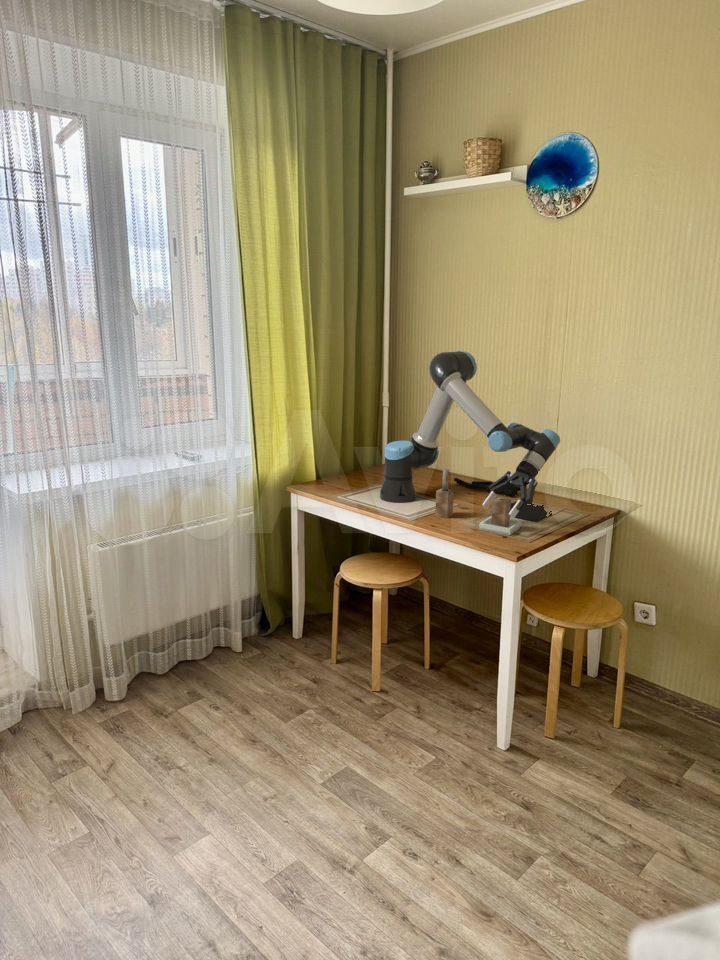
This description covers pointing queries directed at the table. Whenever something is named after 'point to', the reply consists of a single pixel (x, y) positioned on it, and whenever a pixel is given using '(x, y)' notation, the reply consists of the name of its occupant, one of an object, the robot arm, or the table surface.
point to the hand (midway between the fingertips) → (497, 511)
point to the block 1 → (444, 498)
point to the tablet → (530, 513)
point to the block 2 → (501, 512)
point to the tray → (509, 530)
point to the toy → (484, 485)
